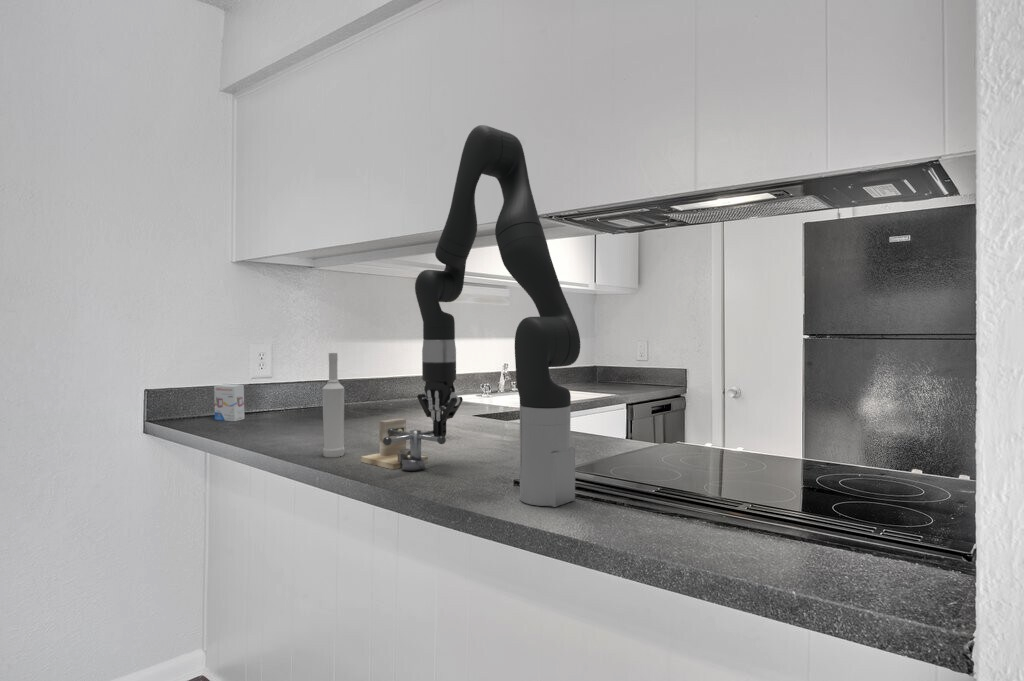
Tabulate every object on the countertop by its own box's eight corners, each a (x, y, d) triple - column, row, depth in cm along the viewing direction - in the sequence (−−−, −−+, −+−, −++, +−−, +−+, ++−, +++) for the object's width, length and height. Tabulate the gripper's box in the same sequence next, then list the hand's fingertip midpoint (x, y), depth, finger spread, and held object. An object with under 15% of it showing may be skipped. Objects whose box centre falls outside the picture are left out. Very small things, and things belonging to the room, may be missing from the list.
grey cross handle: (473, 467, 140) (473, 429, 140) (413, 482, 126) (413, 441, 126) (417, 456, 151) (417, 422, 151) (357, 470, 137) (356, 432, 137)
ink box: (213, 420, 211) (213, 384, 211) (224, 418, 216) (224, 383, 216) (234, 421, 209) (234, 385, 208) (245, 419, 214) (244, 384, 213)
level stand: (434, 463, 145) (434, 423, 145) (400, 471, 138) (400, 429, 137) (395, 455, 155) (394, 417, 154) (360, 461, 147) (360, 422, 147)
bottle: (318, 456, 153) (317, 353, 152) (333, 452, 158) (332, 352, 157) (334, 458, 151) (333, 353, 150) (349, 454, 155) (348, 352, 155)
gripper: (472, 360, 140) (472, 438, 140) (432, 358, 148) (432, 431, 149) (447, 361, 134) (447, 443, 135) (407, 359, 143) (407, 436, 143)
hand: (439, 437), depth 142 cm, fingers closed
